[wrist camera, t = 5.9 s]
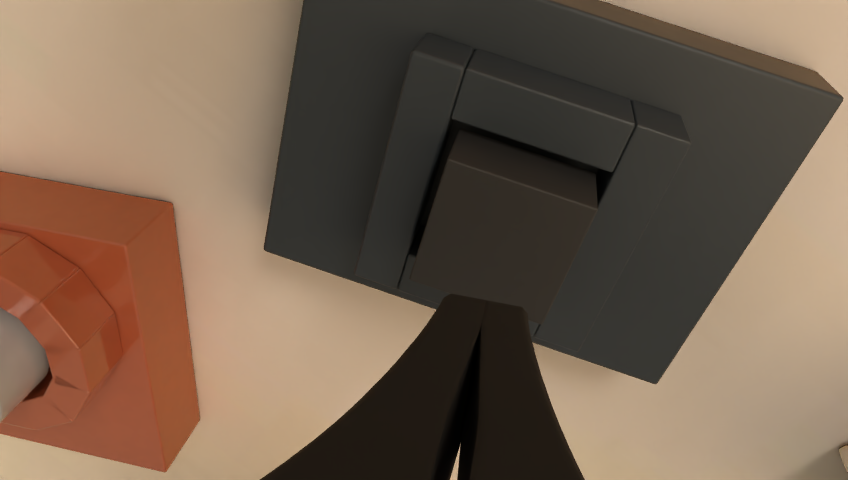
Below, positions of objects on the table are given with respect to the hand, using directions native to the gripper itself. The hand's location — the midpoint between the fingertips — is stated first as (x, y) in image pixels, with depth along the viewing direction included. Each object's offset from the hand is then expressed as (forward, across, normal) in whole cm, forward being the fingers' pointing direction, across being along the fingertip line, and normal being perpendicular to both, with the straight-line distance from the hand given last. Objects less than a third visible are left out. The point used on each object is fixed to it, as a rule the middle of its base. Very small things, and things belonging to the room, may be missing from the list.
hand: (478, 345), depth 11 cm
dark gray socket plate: (+8, 0, 0) cm, 8 cm away
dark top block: (+5, 0, 0) cm, 5 cm away
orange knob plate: (+8, +14, +9) cm, 19 cm away
